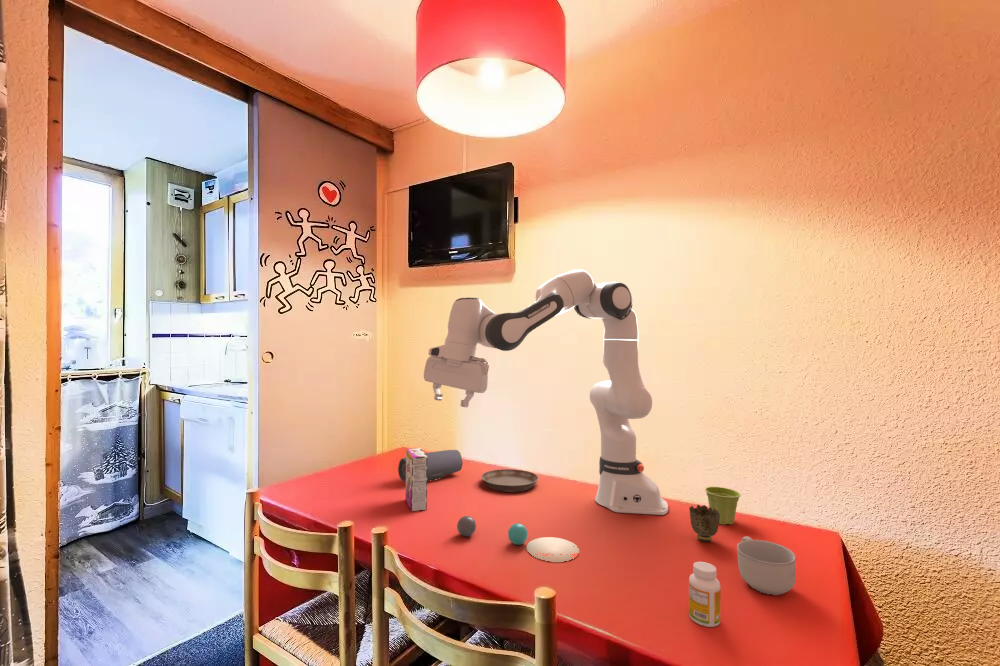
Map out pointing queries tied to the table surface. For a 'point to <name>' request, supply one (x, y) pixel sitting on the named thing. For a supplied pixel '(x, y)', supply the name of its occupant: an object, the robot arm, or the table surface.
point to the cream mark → (552, 549)
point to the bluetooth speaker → (436, 464)
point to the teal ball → (517, 534)
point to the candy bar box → (416, 479)
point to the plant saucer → (509, 480)
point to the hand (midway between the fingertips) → (450, 403)
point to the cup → (704, 522)
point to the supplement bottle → (704, 595)
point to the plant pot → (723, 503)
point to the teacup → (766, 566)
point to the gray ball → (466, 526)
